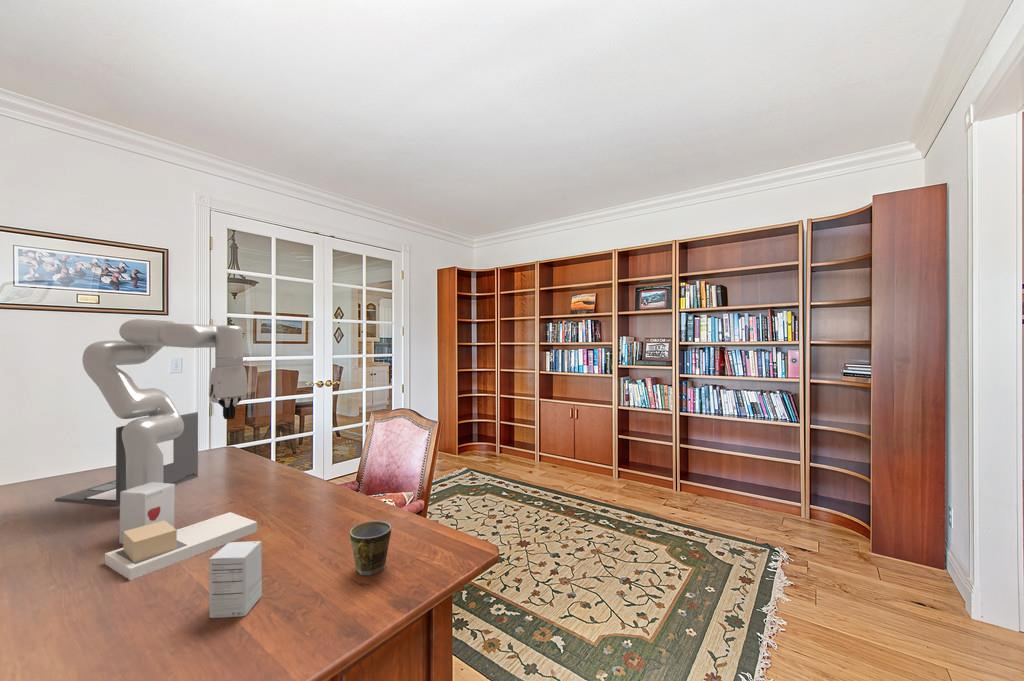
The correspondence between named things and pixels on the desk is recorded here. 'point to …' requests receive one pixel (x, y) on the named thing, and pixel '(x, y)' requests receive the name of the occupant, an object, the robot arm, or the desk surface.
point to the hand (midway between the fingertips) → (229, 418)
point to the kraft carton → (149, 540)
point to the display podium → (185, 544)
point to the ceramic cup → (370, 546)
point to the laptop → (176, 462)
